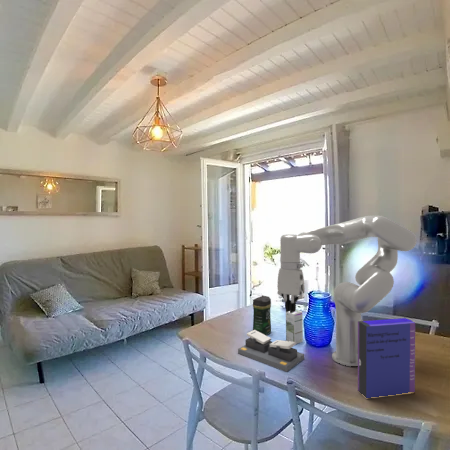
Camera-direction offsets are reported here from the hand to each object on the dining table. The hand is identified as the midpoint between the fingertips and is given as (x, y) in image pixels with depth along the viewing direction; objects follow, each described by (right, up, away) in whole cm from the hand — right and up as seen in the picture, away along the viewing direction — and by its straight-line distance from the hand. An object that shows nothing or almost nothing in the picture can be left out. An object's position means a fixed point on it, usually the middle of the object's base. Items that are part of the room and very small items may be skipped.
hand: (290, 311), depth 123 cm
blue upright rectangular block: (+28, -22, -20) cm, 40 cm away
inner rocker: (-3, -14, +3) cm, 15 cm away
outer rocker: (-11, -14, +11) cm, 21 cm away
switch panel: (-7, -21, +7) cm, 23 cm away
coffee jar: (-7, -20, +32) cm, 39 cm away
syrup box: (+6, -21, +22) cm, 31 cm away
